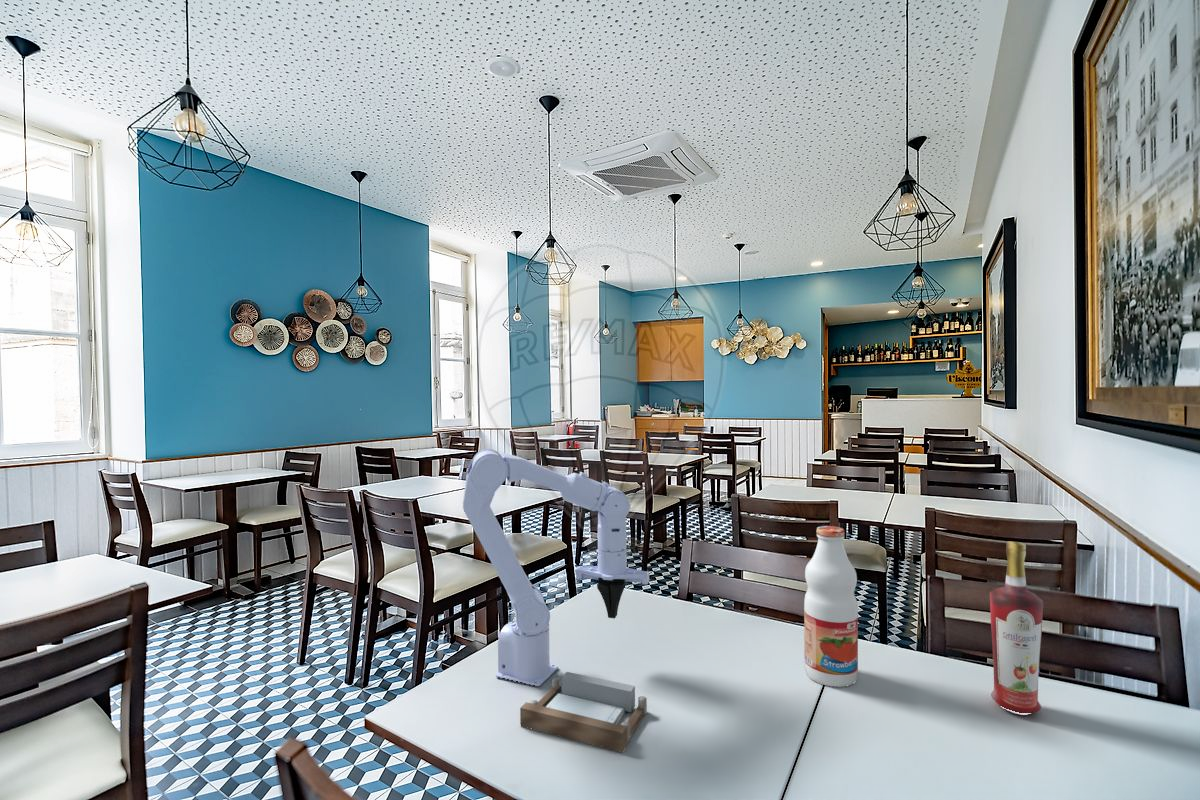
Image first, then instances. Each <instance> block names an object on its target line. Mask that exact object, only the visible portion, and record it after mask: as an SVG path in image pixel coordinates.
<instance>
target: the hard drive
mask: <svg viewBox="0 0 1200 800" xmlns="http://www.w3.org/2000/svg"><path fill="white" fill-rule="evenodd" d="M546 707H548V708H552V709H556V710H560V711H565V712H569V713H573V714H577V715H581V716H585V717H590V718H594V719H598V720H602V721H606V722H610V723H615V724H618V723H619V721H620V720H621V719H622V718H623V715H624V714H625V711H624V708H620V707H616V706H612V705H607V704H603V703H599V702H594V701H590V700H586V699H581V698H577V697H573V696H568V695H564V694H562V693H560V694H559V693H558V694H557V695H556V696H555V697H554V698H553V699H552V701H551V702H550V703H549V704H548V705H547V706H546Z"/></svg>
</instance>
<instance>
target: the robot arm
mask: <svg viewBox="0 0 1200 800" xmlns="http://www.w3.org/2000/svg"><path fill="white" fill-rule="evenodd" d="M501 454H502V455H501ZM501 454H500V452H498V451H497V450H494V449H491V448H486V449H485V448H484V449H482V450H479V451H478V452H476V454H474V456H473V458H472V459H471V461H470V464H469V465H468V468H467V471H466V475H465V476H466V478H465V483H464V484H465V487H464V490H463V491H464V492H463V497H462V498H463V499H462V500H463V501H462V509H463V512H464V514H465V516H466V517H467V519H468V521H469V523H470V525H471V527H472V529H473V530H474V533H475V534H476V536H477V538H478V540H479V542H480V544H481V546H482V548H483V549H484V551H485V553H486V555H487V558H488V559H489V560H490V563H491V564H492V566H493V569H494V570H495V572H496V574H497V576H498V578H499V579H500V582H501V584H502V585H503V587H504V589H505V590H506V593H507V596H508V597H509V601H510V602H511V607H512V610H513V613H514V616H515V618H514V620H513V622H511V623H510V622H509V623H506V624H505V625H504V626H503V627H502V628H501V630H500V633H499V636H498V641H497V668H498V670H497V671H498V672H497V673H496V674H495V677H496V678H498V677H500V679H502V678H505V679H504V680H507V679H509V680H508V681H511V680H513V681H512V682H516V681H518V682H517V683H520V682H523V683H522V684H524V683H526V684H525V685H529V684H530V685H529V686H533V685H535V686H534V687H540V686H541V685H543V684H544V682H545V681H546V680H548V678H549V677H551V676H552V674H554V673H555V672H556V671H557V669H558V668H559V665H558V664H554V663H550V660H551V659H550V620H551V612H550V609H549V607H548V606H547V605H546V603H545V600H544V597H543V596H544V595H543V594H542V591H541V590H540V589H539V588H538V587H536V586H535V585H533V584H532V582H531V581H530V579H529V577H528V575H527V574H526V572H525V571H524V569H523V566H522V564H521V562H520V561H519V559H518V557H517V555H516V554H515V551H514V550H513V547H512V546H511V544H510V542H509V540H508V538H507V537H506V535H505V533H504V530H503V529H502V526H501V525H500V523H499V521H498V519H497V517H496V515H495V513H494V512H493V509H492V507H491V504H492V501H493V500H494V497H495V494H496V492H497V491H498V490H499V488H500V487H501V486H502V485H503V484H504V482H505V481H506V479H507V481H508V483H514V482H517V481H520V480H526V481H529V482H531V483H534V484H537V485H540V486H543V487H546V488H549V489H552V490H555V491H558V492H559V493H560V494H561V497H562V500H563V501H566V502H568V503H570V504H574V505H576V506H578V507H581V508H583V509H586V510H589V511H592V512H598V513H597V565H595V566H594V565H592V566H591V565H590V566H587V565H586V566H582V565H579V566H578V567H577V568H576V569H575V573H576V575H575V576H576V577H575V578H576V579H580V580H581V579H594V580H597V584H596V586H597V587H596V588H597V590H598V592H599V593H600V595H601V598H602V600H603V603H604V606H605V608H606V614H607V617H608V618H609V619H615V618H616V617H617V616H618V610H619V605H620V603H621V602H620V601H621V597H622V595H623V592H624V590H625V588H626V586H627V584H628V583H639V584H642V585H648V584H649V582H650V571H645V570H640V569H635V568H629V567H628V563H627V558H628V554H627V516H628V514H629V513H630V510H631V504H630V500H629V498H628V497H627V495H626V494H625V493H624V492H623V491H621V490H619V489H618V488H617V487H614V486H613V485H611V484H609V483H608V482H607V481H602V483H601V482H599V481H597V480H594V479H593V478H590V477H588V474H587V473H585V472H582V471H579V473H577V472H572V473H570V474H567V475H564V474H561V473H559V472H557V471H554V470H551V469H549V468H547V467H545V466H543V465H542V466H541V465H540V464H537V463H536V462H533V461H530V460H528V459H525V458H523V457H520V456H517V455H514V454H510V453H505V452H501Z"/></svg>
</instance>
